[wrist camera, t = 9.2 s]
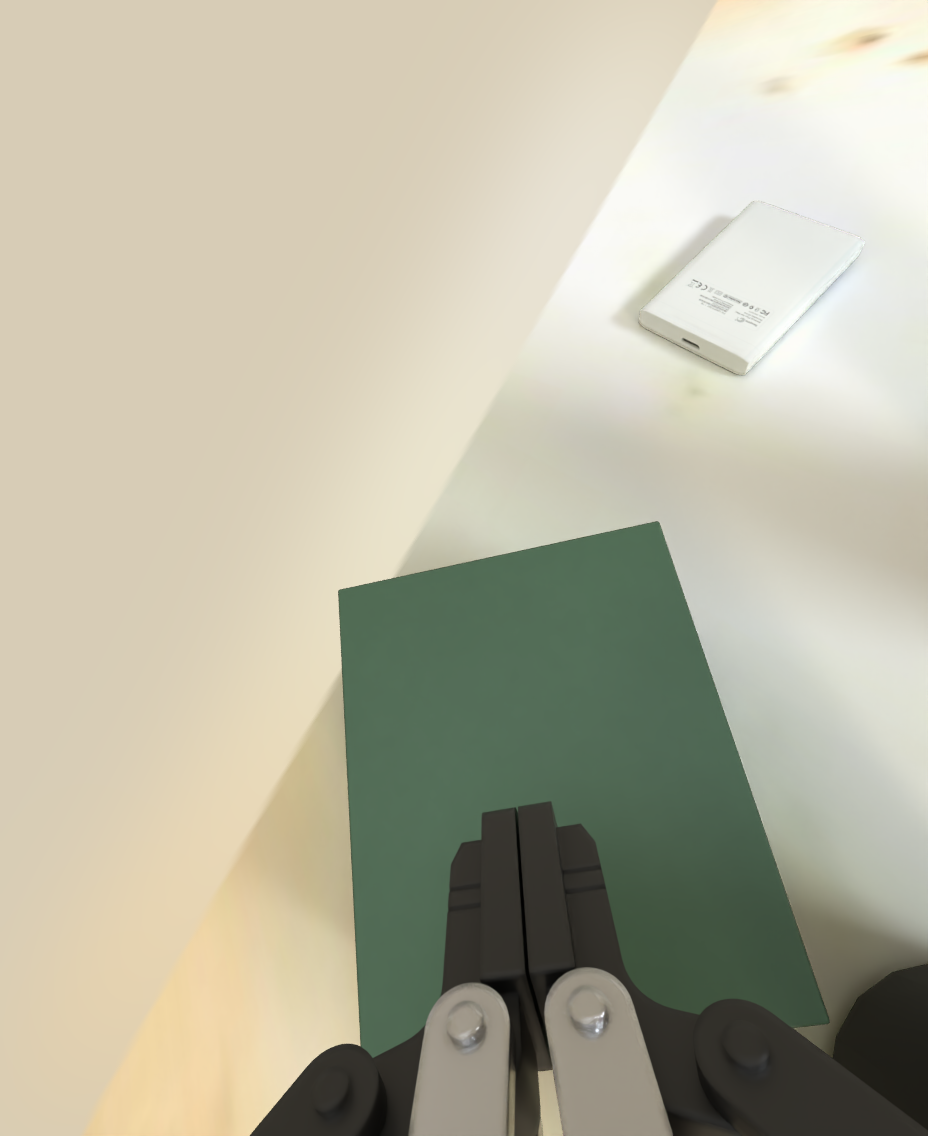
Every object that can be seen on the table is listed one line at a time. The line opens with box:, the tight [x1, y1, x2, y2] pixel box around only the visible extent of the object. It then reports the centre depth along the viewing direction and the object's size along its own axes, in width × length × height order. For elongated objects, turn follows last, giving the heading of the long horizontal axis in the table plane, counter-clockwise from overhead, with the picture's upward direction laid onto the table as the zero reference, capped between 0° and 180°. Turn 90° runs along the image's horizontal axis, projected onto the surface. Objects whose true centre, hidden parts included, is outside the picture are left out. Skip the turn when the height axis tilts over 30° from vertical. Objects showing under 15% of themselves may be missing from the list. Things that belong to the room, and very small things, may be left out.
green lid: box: [338, 521, 829, 1058], centre depth 21 cm, size 16×14×1 cm
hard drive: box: [639, 201, 865, 375], centre depth 39 cm, size 2×8×12 cm
